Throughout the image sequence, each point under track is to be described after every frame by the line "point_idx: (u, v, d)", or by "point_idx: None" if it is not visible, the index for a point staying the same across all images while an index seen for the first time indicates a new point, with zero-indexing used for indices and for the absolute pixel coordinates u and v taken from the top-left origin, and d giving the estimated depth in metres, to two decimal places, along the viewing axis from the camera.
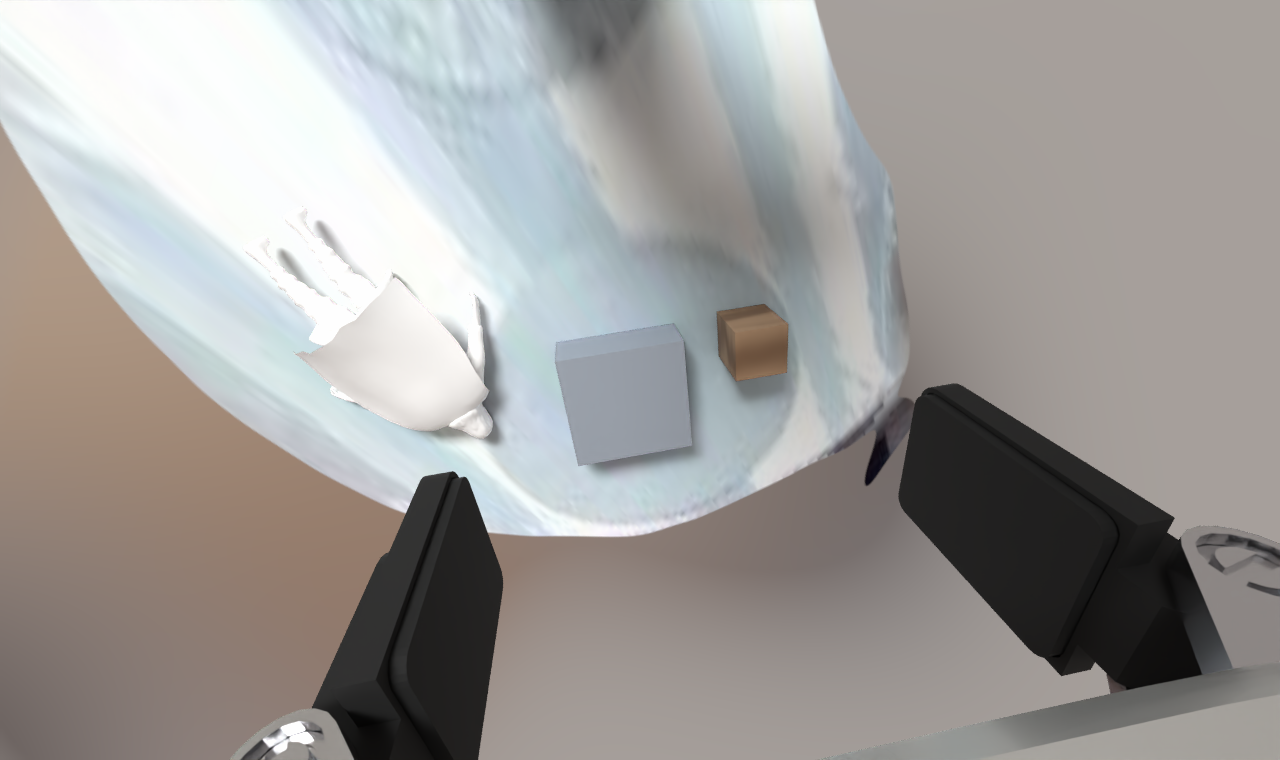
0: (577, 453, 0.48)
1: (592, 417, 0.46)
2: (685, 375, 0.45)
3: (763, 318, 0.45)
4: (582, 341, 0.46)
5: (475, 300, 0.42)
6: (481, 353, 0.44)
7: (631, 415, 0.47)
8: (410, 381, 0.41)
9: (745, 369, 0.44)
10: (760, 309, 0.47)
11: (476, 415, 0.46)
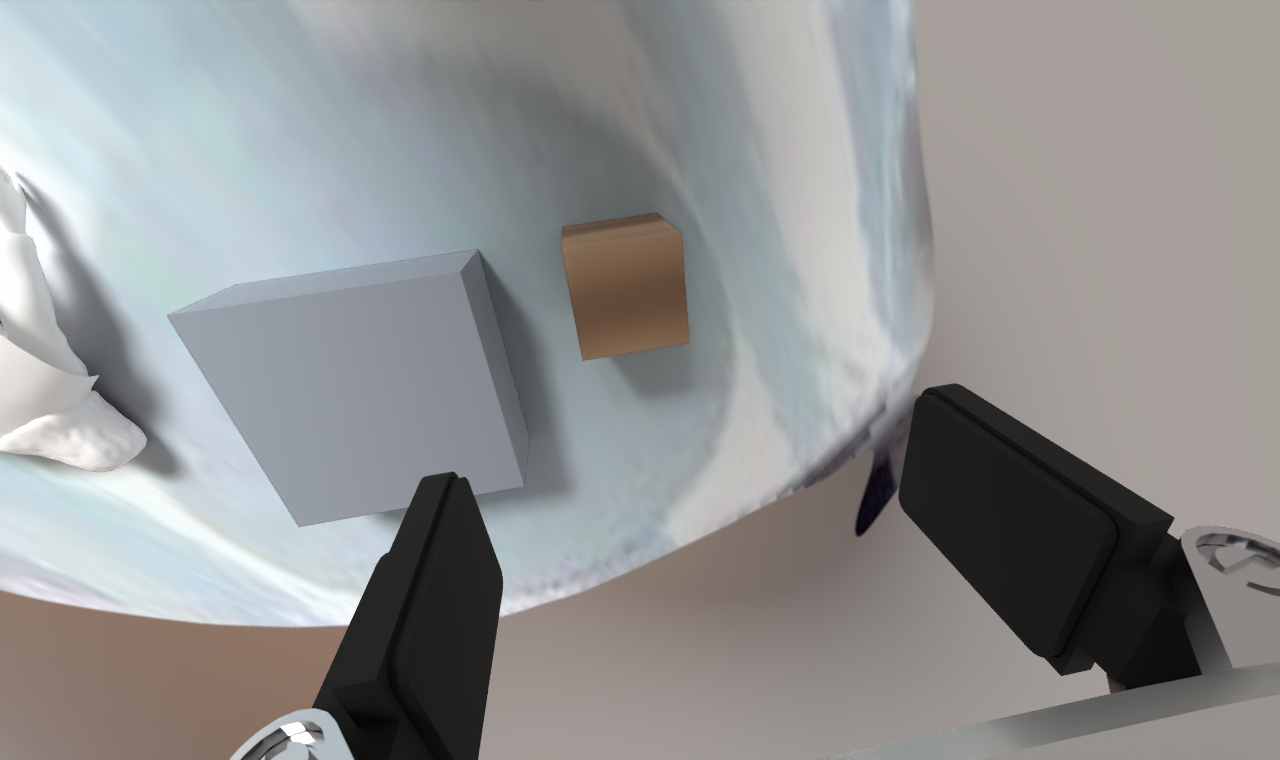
0: (288, 504, 0.24)
1: (297, 434, 0.23)
2: (480, 349, 0.22)
3: (637, 229, 0.21)
4: (280, 281, 0.23)
5: None
6: (22, 294, 0.20)
7: (382, 431, 0.23)
8: None
9: (598, 335, 0.21)
10: (644, 219, 0.23)
11: (63, 426, 0.23)
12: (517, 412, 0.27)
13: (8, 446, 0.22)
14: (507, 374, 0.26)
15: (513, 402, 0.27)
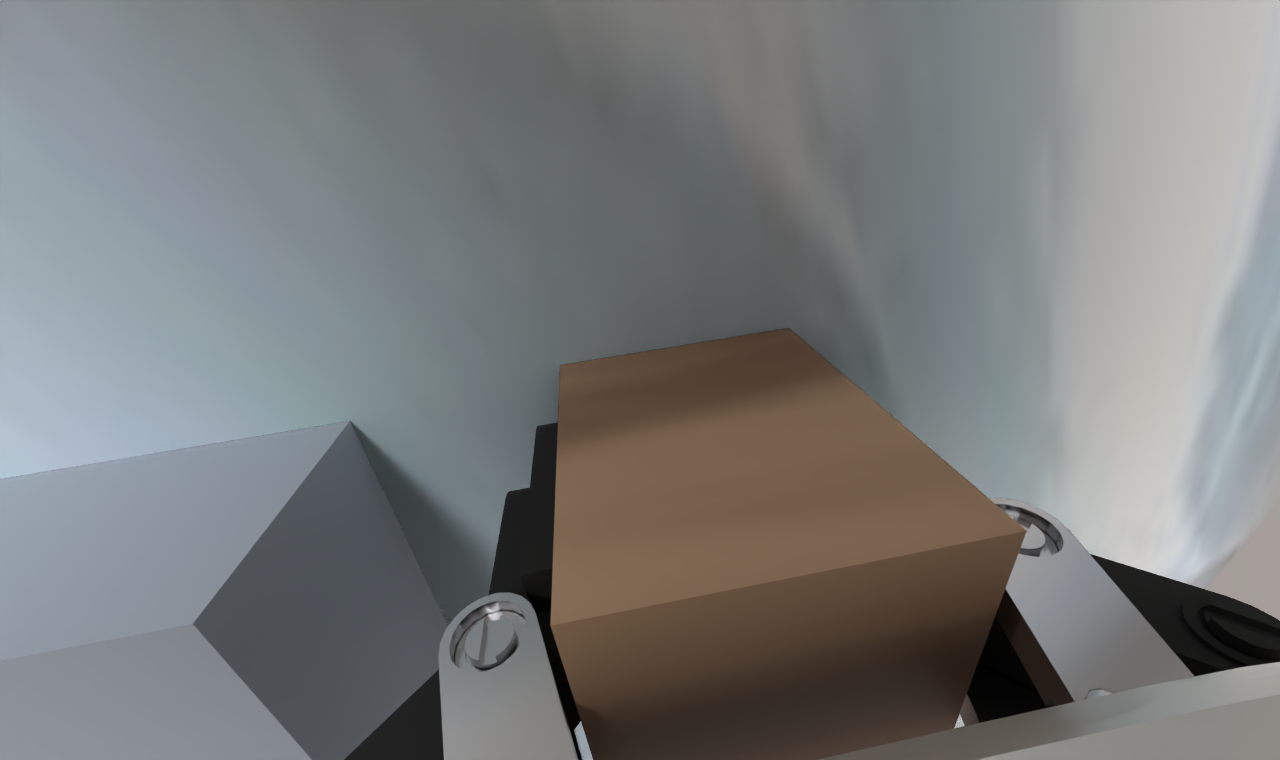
0: None
1: None
2: None
3: (795, 440, 0.07)
4: None
5: None
6: None
7: None
8: None
9: None
10: (774, 362, 0.09)
11: None
12: None
13: None
14: None
15: None
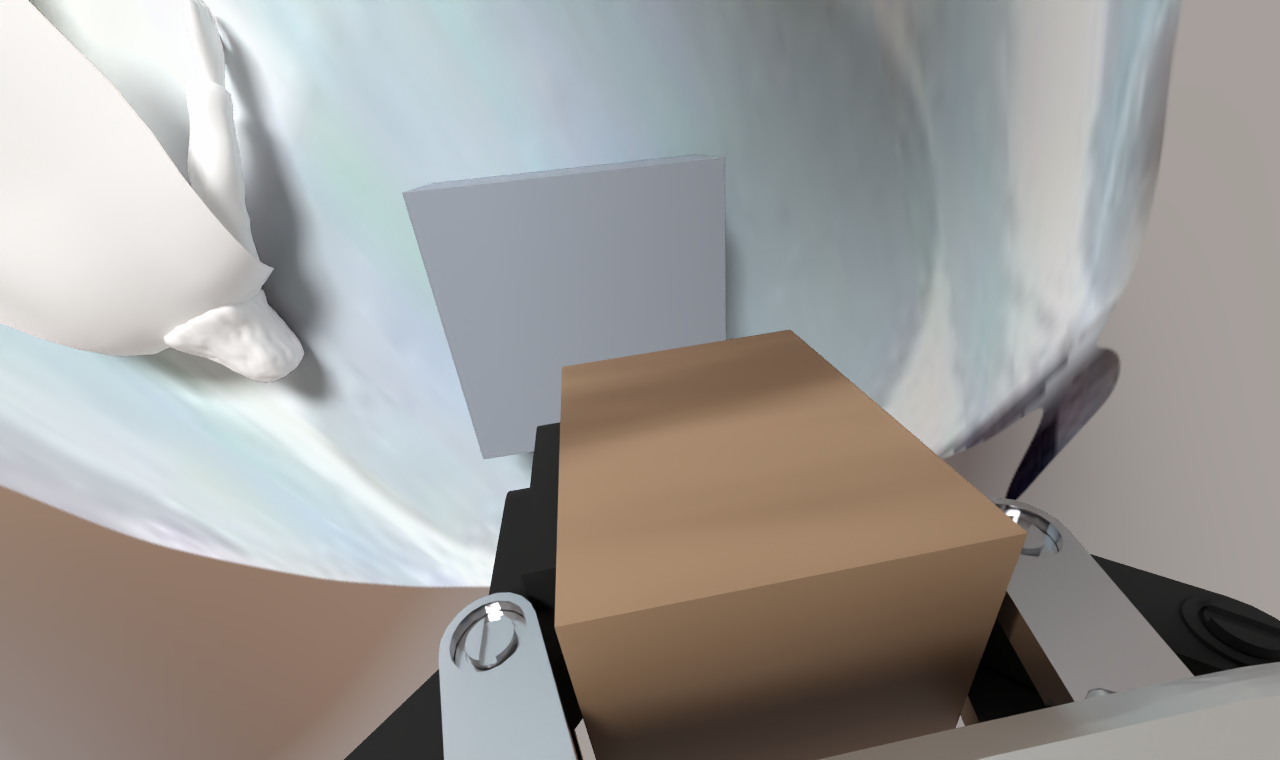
0: (479, 431, 0.22)
1: (508, 347, 0.20)
2: (722, 254, 0.20)
3: (797, 441, 0.07)
4: (491, 177, 0.20)
5: (192, 2, 0.16)
6: (220, 155, 0.17)
7: (596, 348, 0.21)
8: None
9: None
10: (775, 363, 0.09)
11: (236, 322, 0.20)
12: None
13: (179, 339, 0.19)
14: None
15: None
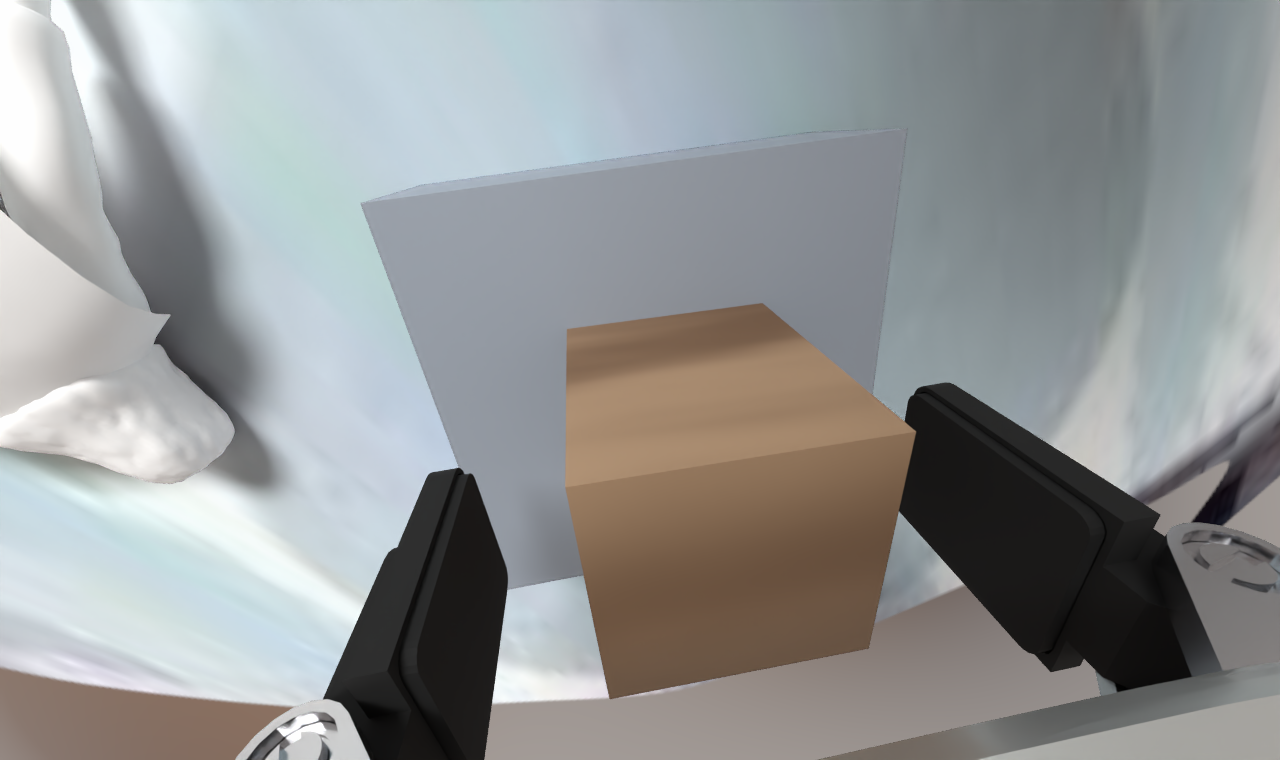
0: None
1: (541, 438, 0.13)
2: (882, 286, 0.12)
3: (756, 378, 0.08)
4: (508, 174, 0.13)
5: None
6: (42, 133, 0.10)
7: None
8: None
9: (654, 653, 0.08)
10: (746, 327, 0.11)
11: (107, 403, 0.13)
12: None
13: (9, 437, 0.12)
14: None
15: None
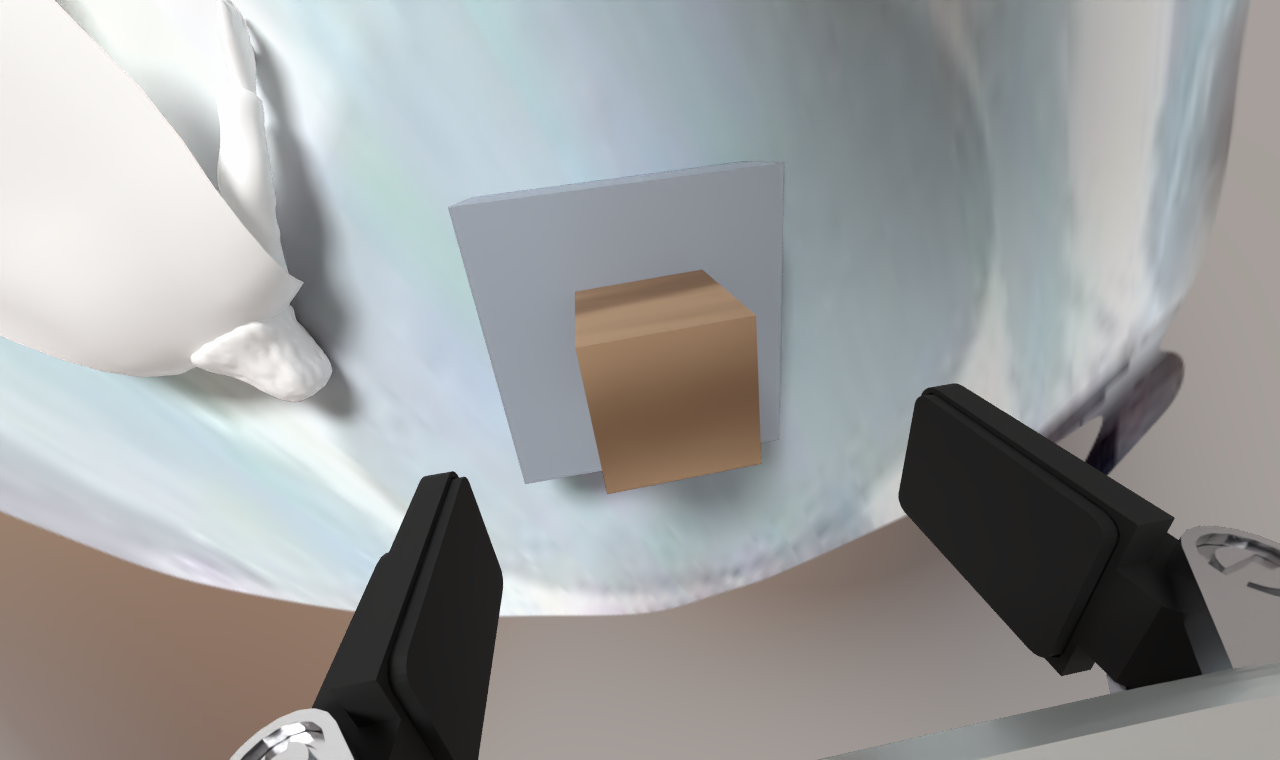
0: (521, 454, 0.21)
1: (553, 366, 0.19)
2: (779, 263, 0.19)
3: (684, 303, 0.15)
4: (533, 190, 0.20)
5: (224, 6, 0.16)
6: (252, 164, 0.17)
7: None
8: None
9: (630, 460, 0.14)
10: (687, 281, 0.17)
11: (265, 339, 0.19)
12: None
13: (207, 358, 0.18)
14: None
15: None
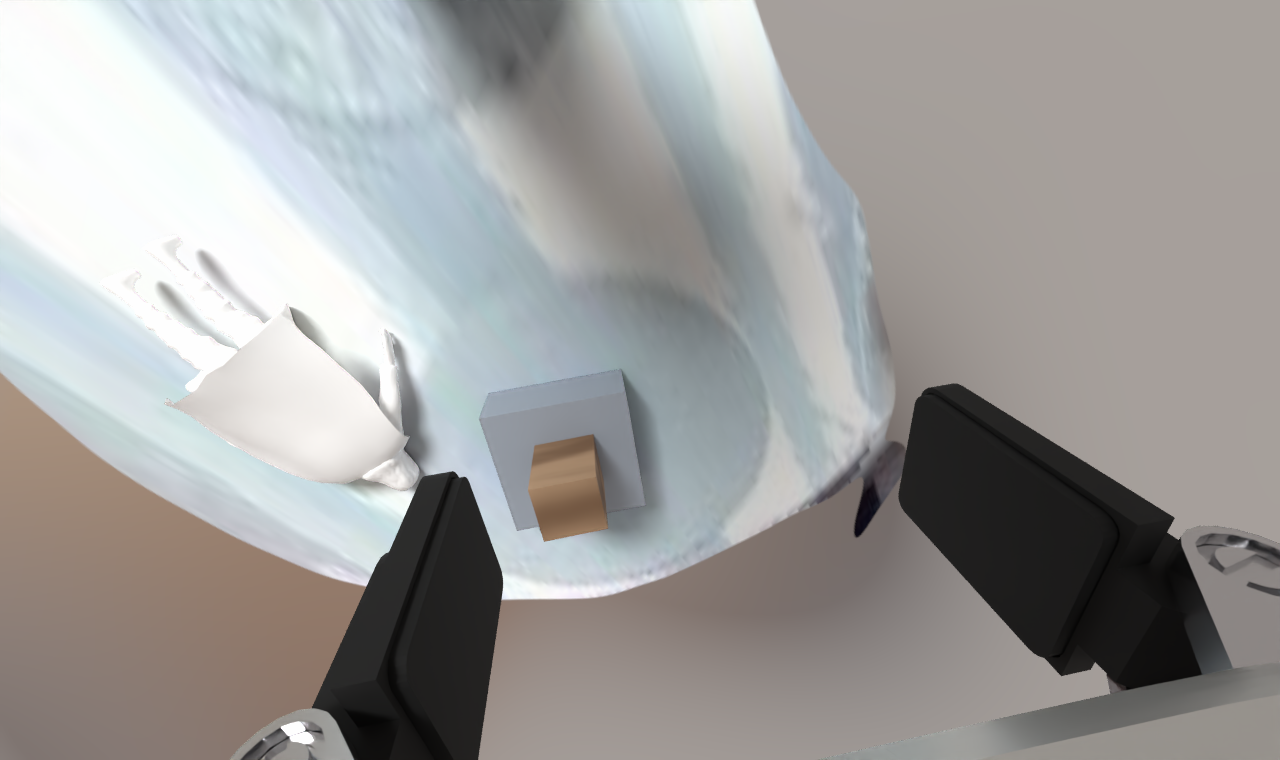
0: (514, 517, 0.42)
1: (528, 477, 0.41)
2: (631, 429, 0.40)
3: (575, 463, 0.36)
4: (517, 392, 0.41)
5: (385, 337, 0.37)
6: (394, 396, 0.38)
7: None
8: (306, 431, 0.36)
9: (552, 528, 0.36)
10: (582, 445, 0.38)
11: (394, 465, 0.41)
12: None
13: (370, 476, 0.40)
14: None
15: None
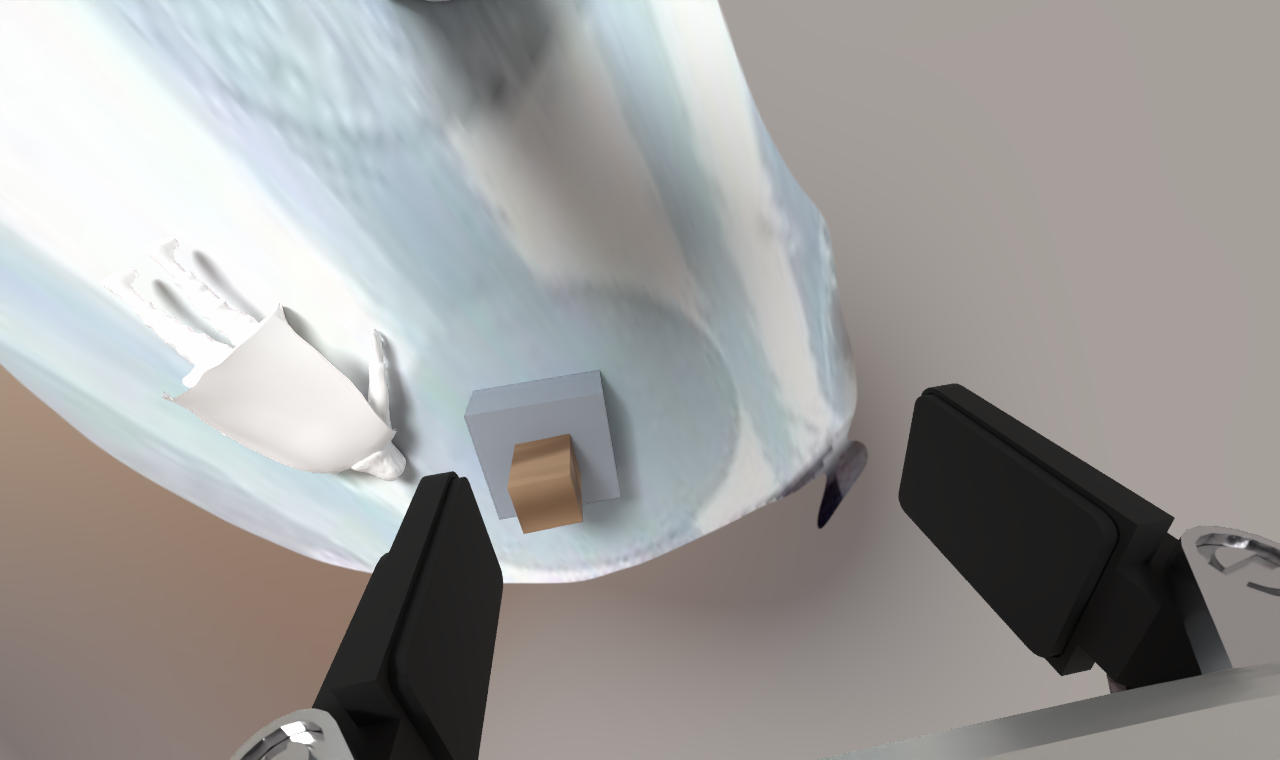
0: (497, 507, 0.45)
1: None
2: (607, 427, 0.43)
3: (551, 462, 0.39)
4: (500, 390, 0.44)
5: (375, 337, 0.39)
6: (382, 393, 0.41)
7: None
8: (298, 425, 0.38)
9: (531, 522, 0.39)
10: (559, 444, 0.41)
11: (382, 457, 0.43)
12: None
13: (359, 467, 0.42)
14: (610, 434, 0.47)
15: None
